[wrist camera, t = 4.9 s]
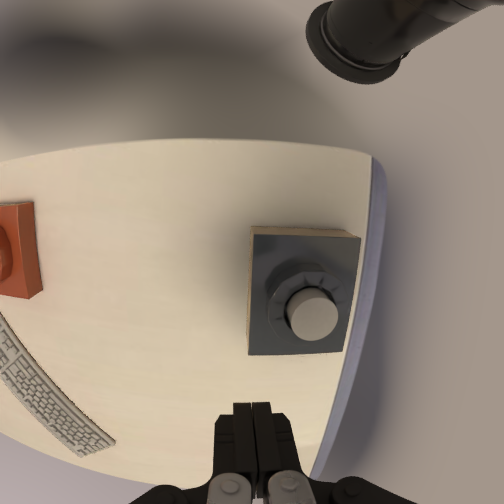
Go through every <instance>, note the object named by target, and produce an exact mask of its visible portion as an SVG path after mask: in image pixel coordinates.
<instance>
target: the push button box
mask: <svg viewBox="0 0 504 504" xmlns="http://www.w3.org/2000/svg"><path fill="white" fill-rule="evenodd" d="M360 244H361V238H359V237H357V236H355V235H353V234H351V233H349V232H347V231H345V230H334V229H314V228H291V227H264V226H251V227H250V251H249V275H248V300H247V325H246V338H247V348H248V355H297V354H317V353H332V352H342V351H343V346H344V341H345V337H346V332H347V327H348V322H349V316H350V311H351V305H352V300H353V294H354V288H355V281H356V275H357V268H358V260H359V253H360ZM305 288H318V289H320V290H322V291H324V292H325V293H326V294H327V296H328V297H329V298H330V299H331V301H332V302H333V303H334V304H335V306H336V308H337V310H338V321H337V324H336V326H335V328H334V329H333V330H332V332H331V333H330V334H328V335H327V336H326V337H324V338H322V339H319V340H315V341H308V340H303V339H301V338H299V337H298V336H297V335H296V334H295V333H294V332H293V330H292V327H291V325H290V322H289V320H288V317H287V312H286V311H287V305H288V302H289V300H290V299H291V297H292V296H293V295H294V294H295V293H297V292H298V291H300V290H302V289H305Z"/></svg>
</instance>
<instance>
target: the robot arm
mask: <svg viewBox="0 0 504 504" xmlns="http://www.w3.org/2000/svg"><path fill="white" fill-rule="evenodd" d="M491 5H504V0H334V1H333V2H332V4H331V5H330V7H329V9H328V10H327V11H326V12H325V13H324V15H323V17H322V18H321V21H320V25H319V29H320V35H321V38H322V40H323V42H324V44H325V45H326V47H327V48H328V49H329V51H330V52H331V53H332V54H333V55H334V56H335V57H336V58H338V59H339V60H340V61H342V62H343V63H345V64H347V65H348V66H350V67H353V68H355V69H358V70H362V71H378V70H381V69H383V68H385V67H386V66H388V65H389V64H390V63H391V62H392V61H394V60H395V59H397V58H398V57H400V56H402V55H403V54H404V55H403V57H402V58H401V59H400V60H402V59H403V58H405V57H406V56H407V55H408V53H409V52H410V51H411V49H413V48H415V47H416V46H418V45H420V44H421V43H423V42H424V41H426V40H428V39H430V38H431V37H433V36H435V35H436V34H438V33H440V32H442V31H443V30H445V29H447V28H448V27H450V26H452V25H454V24H456V23H458V22H459V21H461V20H463V19H465V18H467V17H469V16H470V15H472V14H474V13H476V12H478V11H480V10H482V9H484V8H486V7H488V6H491ZM214 434H215V435H214V457H213V474H212V477H211V478H210V480H209V481H208V482H207V483H206V484H204V485H202V486H200V487H196V488H192V489H186V490H181V489H179V488H178V487H175V486H172V485H159V486H156V487H154V488H152V489H151V490H149V491H148V492H146V493H145V494H143V495H142V496H140V497H139V498H137V499H136V500H134V501H132V502H131V503H129V504H252V500H253V499H255V495H256V494H257V498H263V502H264V504H417V503H414V502H412V501H409V500H407V499H404V498H402V497H400V496H398V495H396V494H393V493H391V492H389V491H387V490H385V489H382V488H381V487H379V486H377V485H374V484H372V483H370V482H368V481H366V480H364V479H363V478H359V477H355V476H350V477H345V478H342V479H340V480H339V481H338V482H337V483H331V482H321V481H316V480H313V479H311V478H309V477H307V476H306V475H305V474H304V473H303V471H302V469H301V466H300V462H299V457H298V453H297V449H296V445H295V441H294V437H293V433H292V428H291V424H290V421H289V420H288V418H287V417H286V416H285V415H284V414H283V413H273V414H272V411H271V406H270V402H252V409H251V403H233V415H220V416H219V418H218V419H217V421H216V422H215V432H214Z"/></svg>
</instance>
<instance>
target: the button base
mask: <svg viewBox="0 0 504 504" xmlns="http://www.w3.org/2000/svg"><path fill="white" fill-rule="evenodd" d="M42 290H43V288H42V282H41V276H40V270H39V263H38V255H37V247H36V237H35V225H34V206H33V202H27V203H16V204H6V205H0V294H1V295H6V296H12V297H18V298H24V299H30V298H32V297H33V296H34V295H36V294H37V293H39V292H40V291H42Z"/></svg>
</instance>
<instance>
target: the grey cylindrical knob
mask: <svg viewBox="0 0 504 504" xmlns="http://www.w3.org/2000/svg"><path fill="white" fill-rule="evenodd" d="M286 312H287V317H288V320H289V322H290V325H291V327H292V330H293V332H294V333H295V334H296V335H297V336H298V337H299V338H301V339H303V340H308V341H315V340H319V339H322V338H324V337H326V336H327V335H328V334H330V333H331V332H332V330H333V329H334V328H335V326H336V324H337V321H338V310H337V308H336V306H335V304H334V303H333V302H332V301H331V299H330V298H329V297H328V296H327V294H326V293H325V292H324V291H322V290H320V289H318V288H305V289H302V290H300V291H298V292H297V293H295V294H294V295H293V296H292V297H291V299H290V300H289V302H288V305H287V311H286Z"/></svg>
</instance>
